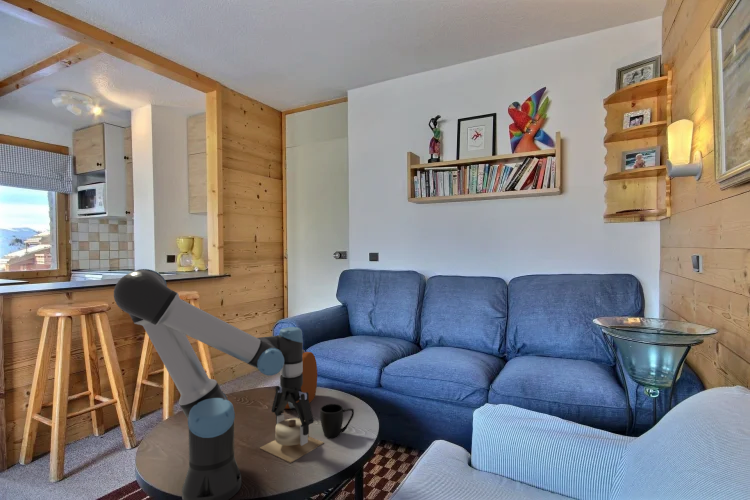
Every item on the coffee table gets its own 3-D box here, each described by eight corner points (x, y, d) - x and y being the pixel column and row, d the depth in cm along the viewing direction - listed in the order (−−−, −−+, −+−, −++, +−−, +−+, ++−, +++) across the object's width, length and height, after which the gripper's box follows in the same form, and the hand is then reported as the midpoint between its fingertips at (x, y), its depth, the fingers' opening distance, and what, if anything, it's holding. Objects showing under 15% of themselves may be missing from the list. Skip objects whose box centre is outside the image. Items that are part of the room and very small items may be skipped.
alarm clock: (297, 392, 179) (297, 343, 179) (317, 393, 177) (317, 344, 177) (277, 412, 157) (276, 357, 157) (300, 413, 155) (299, 358, 155)
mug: (354, 439, 134) (354, 412, 134) (319, 441, 133) (319, 413, 133) (353, 428, 143) (353, 402, 143) (321, 429, 141) (320, 404, 141)
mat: (290, 463, 119) (290, 462, 119) (259, 448, 128) (259, 447, 128) (323, 443, 132) (323, 442, 132) (293, 431, 140) (293, 430, 140)
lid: (290, 449, 122) (290, 431, 122) (268, 439, 129) (268, 422, 129) (315, 435, 131) (315, 419, 131) (293, 426, 138) (293, 411, 138)
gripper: (324, 377, 126) (324, 444, 126) (277, 365, 140) (278, 425, 140) (307, 384, 120) (308, 454, 120) (260, 370, 134) (261, 433, 134)
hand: (292, 438), depth 130 cm, fingers closed on lid, 11 cm apart
